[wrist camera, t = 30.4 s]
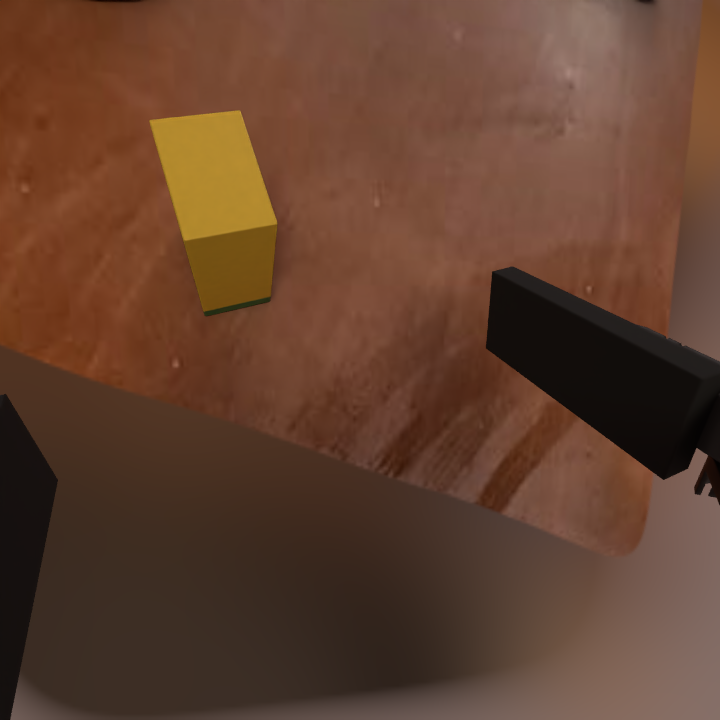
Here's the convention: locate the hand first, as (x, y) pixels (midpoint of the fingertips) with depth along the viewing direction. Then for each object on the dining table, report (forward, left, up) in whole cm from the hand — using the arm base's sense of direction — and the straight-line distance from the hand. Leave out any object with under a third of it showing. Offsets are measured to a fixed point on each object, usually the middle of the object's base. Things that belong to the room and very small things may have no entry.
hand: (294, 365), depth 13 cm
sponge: (-4, +10, -15) cm, 18 cm away
